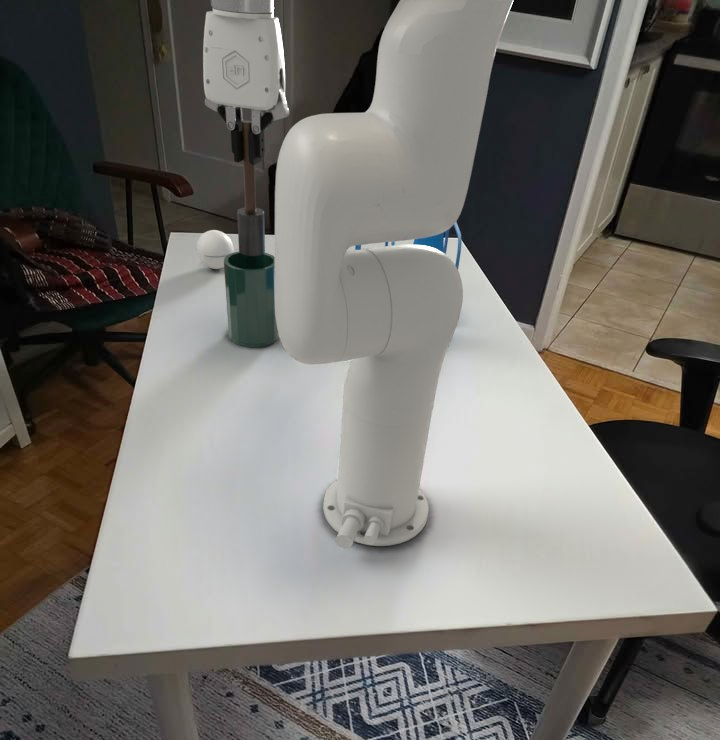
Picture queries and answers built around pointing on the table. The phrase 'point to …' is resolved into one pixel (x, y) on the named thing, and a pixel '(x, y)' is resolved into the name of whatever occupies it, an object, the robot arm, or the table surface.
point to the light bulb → (214, 248)
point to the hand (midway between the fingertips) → (248, 160)
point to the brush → (250, 206)
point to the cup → (250, 299)
